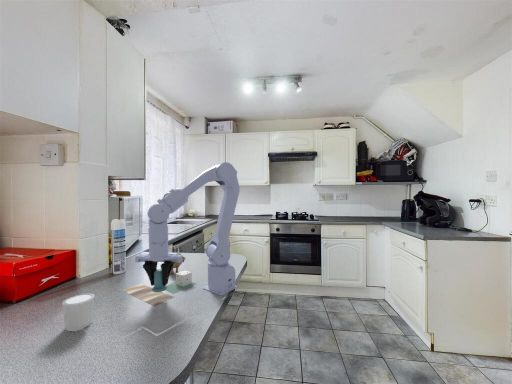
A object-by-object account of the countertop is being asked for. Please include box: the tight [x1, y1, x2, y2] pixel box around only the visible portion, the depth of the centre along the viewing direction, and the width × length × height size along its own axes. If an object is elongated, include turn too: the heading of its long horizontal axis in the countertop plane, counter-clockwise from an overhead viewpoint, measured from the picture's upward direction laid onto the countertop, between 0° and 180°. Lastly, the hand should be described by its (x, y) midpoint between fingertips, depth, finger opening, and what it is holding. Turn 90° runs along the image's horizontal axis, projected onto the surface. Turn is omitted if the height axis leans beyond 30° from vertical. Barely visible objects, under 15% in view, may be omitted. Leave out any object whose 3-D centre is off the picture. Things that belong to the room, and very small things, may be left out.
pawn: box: [151, 268, 168, 292], centre depth 76 cm, size 4×4×6 cm
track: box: [121, 283, 175, 307], centre depth 80 cm, size 20×7×1 cm, turn 54°
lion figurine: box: [170, 252, 186, 276], centre depth 101 cm, size 15×5×9 cm, turn 49°
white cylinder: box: [61, 293, 96, 332], centre depth 62 cm, size 7×7×7 cm
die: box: [175, 270, 193, 287], centre depth 88 cm, size 4×4×4 cm
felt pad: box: [165, 281, 197, 295], centre depth 86 cm, size 8×10×1 cm
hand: (159, 284), depth 76 cm, fingers closed on pawn, 3 cm apart
